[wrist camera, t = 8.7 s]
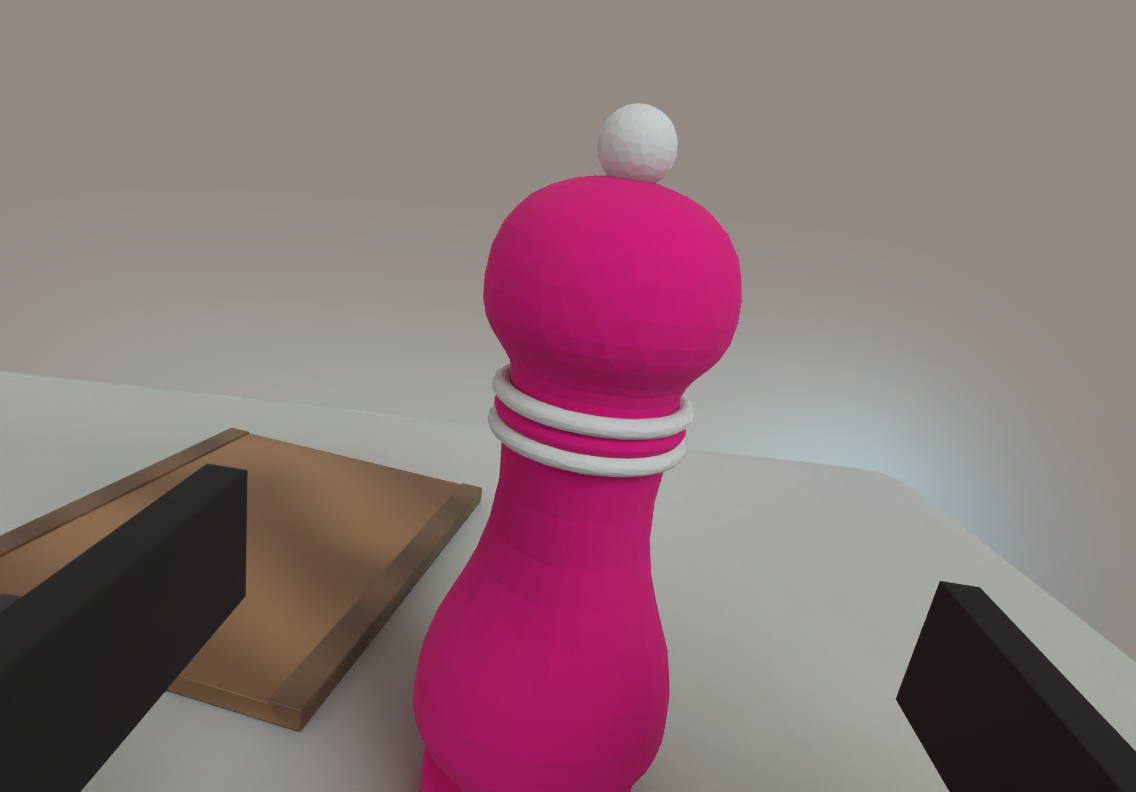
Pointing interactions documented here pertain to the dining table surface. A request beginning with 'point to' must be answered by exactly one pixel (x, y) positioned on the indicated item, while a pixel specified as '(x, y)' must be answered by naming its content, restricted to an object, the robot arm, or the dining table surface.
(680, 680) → the dining table surface
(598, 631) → the pepper mill
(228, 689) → the square wooden board
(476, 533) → the dining table surface
